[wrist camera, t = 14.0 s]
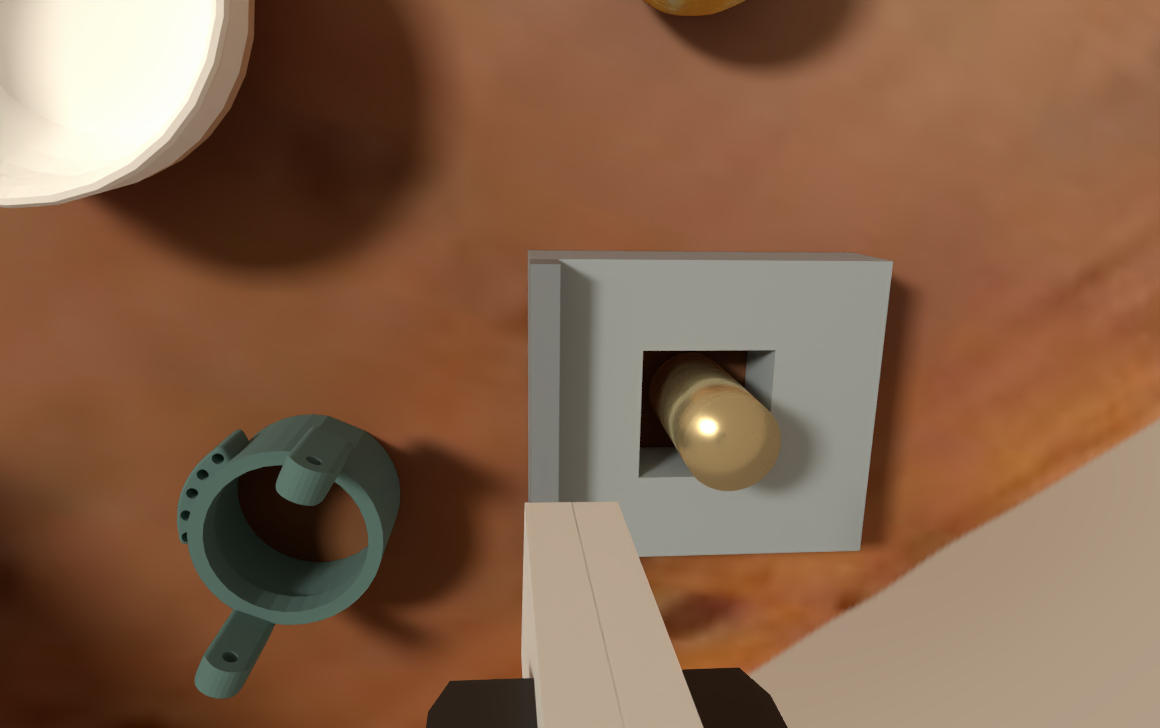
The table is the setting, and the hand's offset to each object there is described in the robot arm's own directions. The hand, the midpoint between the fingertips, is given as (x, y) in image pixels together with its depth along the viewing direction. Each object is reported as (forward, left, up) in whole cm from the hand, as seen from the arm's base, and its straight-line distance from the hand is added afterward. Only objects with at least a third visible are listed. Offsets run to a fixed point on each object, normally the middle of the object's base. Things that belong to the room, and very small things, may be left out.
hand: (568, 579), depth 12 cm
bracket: (-11, -9, -25) cm, 29 cm away
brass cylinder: (+8, -4, -25) cm, 26 cm away
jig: (+8, -4, -25) cm, 26 cm away
